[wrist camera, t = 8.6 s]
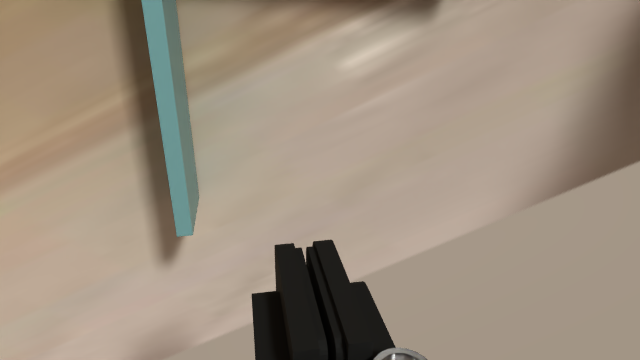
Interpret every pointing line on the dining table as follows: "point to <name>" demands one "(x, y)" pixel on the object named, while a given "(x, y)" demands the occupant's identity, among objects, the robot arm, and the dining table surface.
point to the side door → (173, 109)
